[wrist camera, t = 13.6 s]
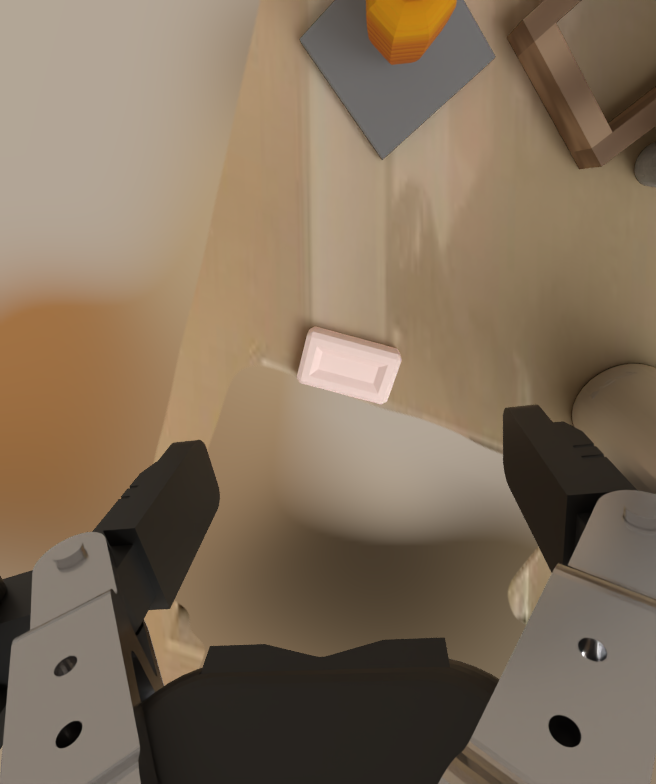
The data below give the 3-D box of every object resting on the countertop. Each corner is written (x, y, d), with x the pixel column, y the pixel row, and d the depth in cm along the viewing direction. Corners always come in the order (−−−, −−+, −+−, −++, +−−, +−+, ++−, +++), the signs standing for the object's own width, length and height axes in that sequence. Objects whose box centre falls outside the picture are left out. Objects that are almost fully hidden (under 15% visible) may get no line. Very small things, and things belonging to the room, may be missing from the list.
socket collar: (727, 56, 31) (769, 41, 27) (579, 169, 34) (601, 166, 31) (661, -104, 28) (700, -143, 24) (506, 37, 31) (522, 19, 28)
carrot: (352, 29, 31) (340, -102, 17) (418, -13, 29) (461, -191, 16) (380, 103, 32) (389, 36, 19) (443, 66, 31) (502, -34, 18)
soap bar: (310, 323, 41) (307, 331, 39) (401, 348, 42) (403, 357, 40) (298, 373, 44) (295, 383, 41) (384, 396, 44) (385, 407, 42)
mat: (491, 60, 32) (495, 56, 31) (382, 159, 35) (382, 159, 34) (412, -78, 29) (414, -87, 28) (301, 43, 32) (299, 39, 31)
